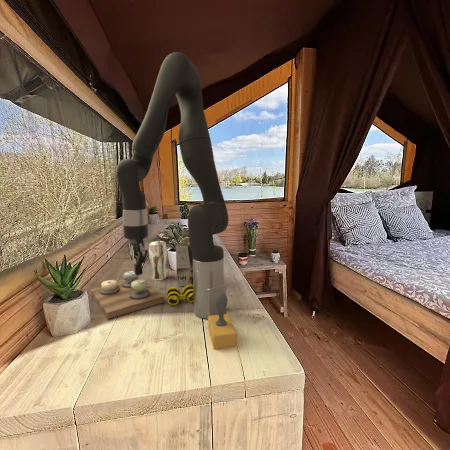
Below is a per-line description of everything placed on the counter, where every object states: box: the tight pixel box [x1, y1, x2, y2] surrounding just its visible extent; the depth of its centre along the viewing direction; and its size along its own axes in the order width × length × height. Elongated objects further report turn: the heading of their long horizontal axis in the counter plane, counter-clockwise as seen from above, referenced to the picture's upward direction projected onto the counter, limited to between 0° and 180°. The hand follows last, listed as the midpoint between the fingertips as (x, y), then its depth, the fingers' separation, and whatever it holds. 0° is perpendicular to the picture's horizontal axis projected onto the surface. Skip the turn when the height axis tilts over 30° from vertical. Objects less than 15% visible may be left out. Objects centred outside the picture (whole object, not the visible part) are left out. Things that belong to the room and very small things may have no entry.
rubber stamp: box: [207, 293, 238, 350], centre depth 70 cm, size 10×6×12 cm, turn 11°
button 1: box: [100, 279, 118, 291], centre depth 95 cm, size 5×5×2 cm
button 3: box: [123, 270, 139, 281], centre depth 100 cm, size 5×5×2 cm
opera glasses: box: [166, 285, 194, 306], centre depth 91 cm, size 10×5×5 cm, turn 108°
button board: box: [90, 277, 165, 320], centre depth 94 cm, size 22×18×3 cm
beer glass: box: [148, 240, 168, 282], centre depth 111 cm, size 7×7×15 cm
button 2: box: [131, 279, 148, 291], centre depth 91 cm, size 5×5×2 cm
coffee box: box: [175, 240, 194, 288], centre depth 106 cm, size 9×6×16 cm
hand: (138, 274), depth 91 cm, fingers closed
